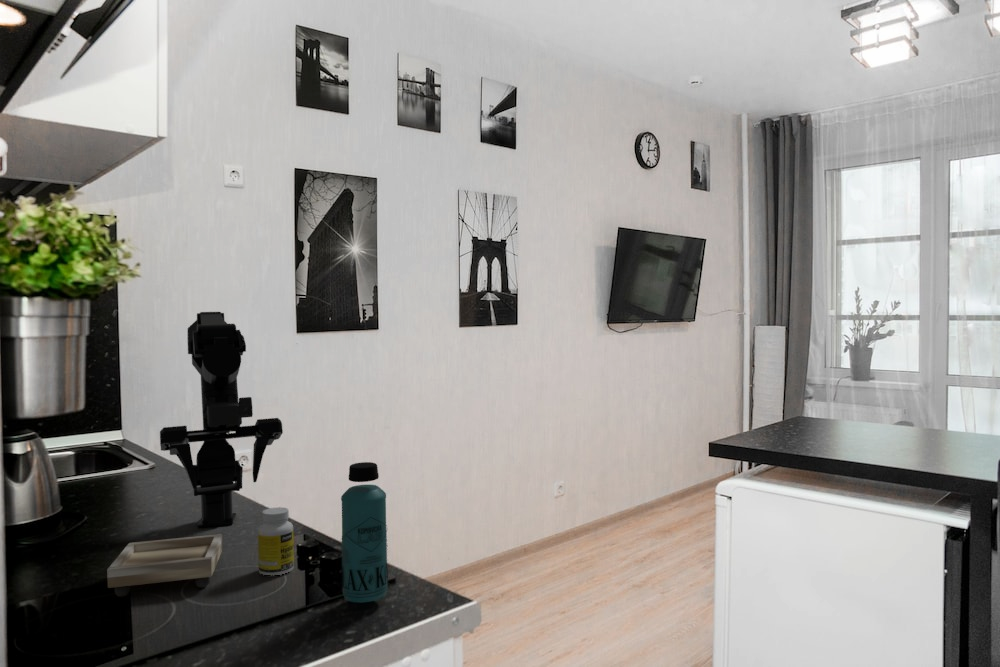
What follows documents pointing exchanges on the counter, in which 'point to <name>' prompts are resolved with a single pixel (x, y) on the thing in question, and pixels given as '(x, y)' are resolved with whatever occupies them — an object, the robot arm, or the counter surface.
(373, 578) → the beverage bottle
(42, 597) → the counter surface
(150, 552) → the shallow square tray
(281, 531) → the supplement bottle
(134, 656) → the counter surface
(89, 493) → the counter surface
